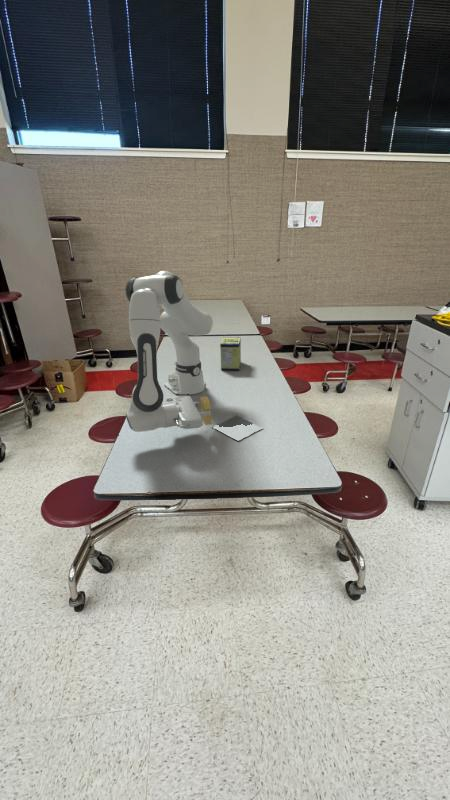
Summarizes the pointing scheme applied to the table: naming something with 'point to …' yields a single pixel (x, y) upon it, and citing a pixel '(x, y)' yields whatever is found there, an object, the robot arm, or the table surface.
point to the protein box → (230, 353)
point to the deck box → (205, 406)
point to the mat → (234, 422)
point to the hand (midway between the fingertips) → (208, 408)
